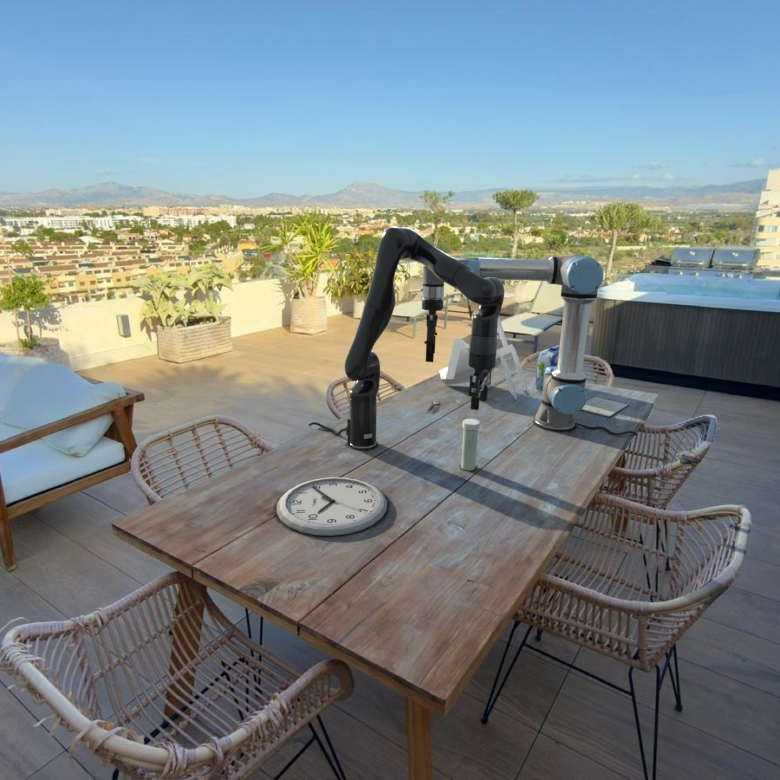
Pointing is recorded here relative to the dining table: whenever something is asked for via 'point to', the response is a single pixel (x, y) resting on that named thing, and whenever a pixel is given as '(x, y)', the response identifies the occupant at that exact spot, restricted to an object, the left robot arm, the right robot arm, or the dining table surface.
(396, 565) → the dining table surface
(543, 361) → the lunch box
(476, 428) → the lid
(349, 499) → the wall clock
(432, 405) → the fork
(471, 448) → the pale green cylinder
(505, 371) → the white plastic object
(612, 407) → the invitation card
